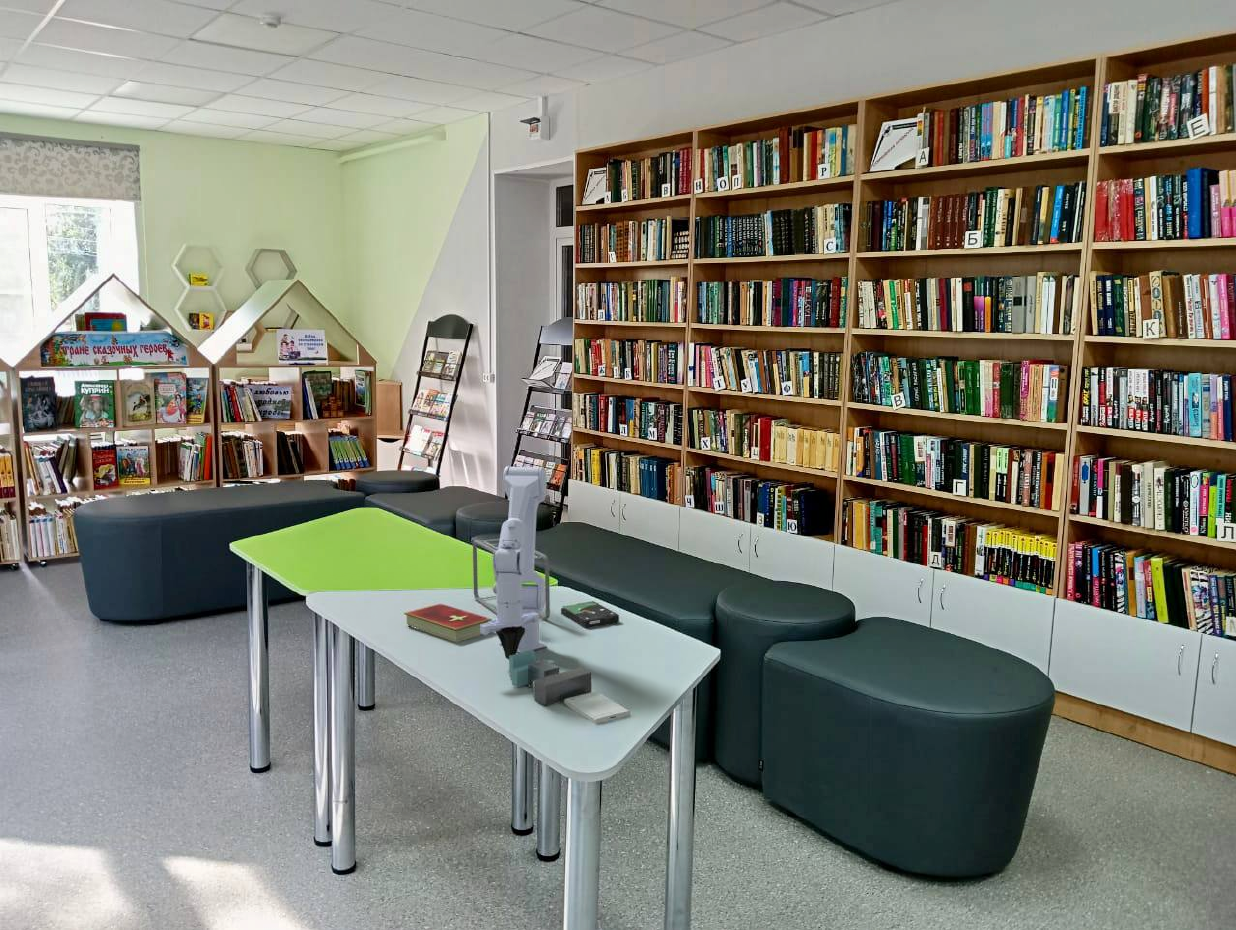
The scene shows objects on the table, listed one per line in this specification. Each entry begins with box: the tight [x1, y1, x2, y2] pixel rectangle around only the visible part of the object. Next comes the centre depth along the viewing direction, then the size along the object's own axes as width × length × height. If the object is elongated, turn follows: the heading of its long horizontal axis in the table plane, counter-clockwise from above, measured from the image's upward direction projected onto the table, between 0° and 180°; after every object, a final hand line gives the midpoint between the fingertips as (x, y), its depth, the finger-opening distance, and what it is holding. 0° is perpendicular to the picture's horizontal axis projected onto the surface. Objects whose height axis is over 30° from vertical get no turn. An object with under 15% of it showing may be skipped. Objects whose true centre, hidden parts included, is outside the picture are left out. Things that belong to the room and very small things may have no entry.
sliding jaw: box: [508, 650, 555, 688], centre depth 214 cm, size 6×10×5 cm, turn 130°
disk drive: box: [560, 601, 620, 629], centre depth 260 cm, size 10×3×15 cm
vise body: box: [532, 666, 593, 707], centre depth 205 cm, size 6×12×4 cm, turn 130°
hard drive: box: [563, 691, 631, 725], centre depth 198 cm, size 2×8×12 cm
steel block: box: [527, 659, 560, 688], centre depth 210 cm, size 6×4×5 cm, turn 40°
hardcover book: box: [403, 603, 493, 643], centre depth 250 cm, size 12×21×4 cm, turn 48°
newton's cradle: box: [472, 538, 551, 621], centre depth 266 cm, size 30×10×18 cm, turn 29°
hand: (510, 658), depth 220 cm, fingers closed
